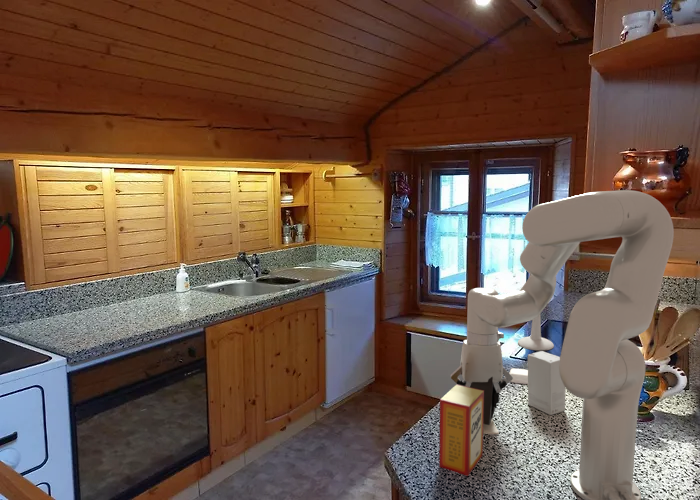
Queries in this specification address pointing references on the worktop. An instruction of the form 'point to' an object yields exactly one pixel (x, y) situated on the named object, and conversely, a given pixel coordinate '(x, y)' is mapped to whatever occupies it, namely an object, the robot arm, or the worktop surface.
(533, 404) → the skincare box
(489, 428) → the pad
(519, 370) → the soap
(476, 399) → the baking soda box
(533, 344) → the candlestick
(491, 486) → the worktop surface
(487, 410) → the black tapered piece
